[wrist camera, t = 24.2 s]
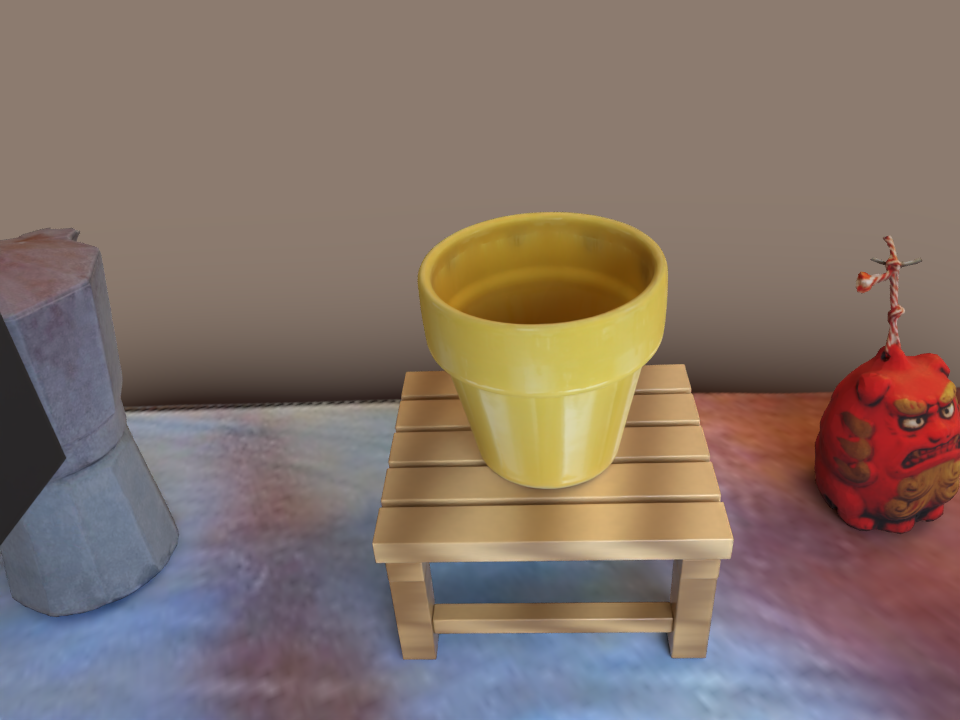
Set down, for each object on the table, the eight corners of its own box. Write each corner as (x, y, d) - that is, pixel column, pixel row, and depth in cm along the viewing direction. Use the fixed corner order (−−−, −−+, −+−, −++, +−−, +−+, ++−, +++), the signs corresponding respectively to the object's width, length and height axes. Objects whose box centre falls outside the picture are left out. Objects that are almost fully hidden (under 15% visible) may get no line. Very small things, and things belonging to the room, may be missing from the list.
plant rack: (674, 475, 49) (684, 363, 44) (715, 660, 39) (734, 539, 34) (420, 480, 50) (405, 371, 46) (394, 661, 40) (371, 544, 35)
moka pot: (226, 467, 52) (131, 160, 41) (124, 687, 39) (-55, 330, 28) (80, 468, 53) (-53, 167, 42) (-66, 683, 40) (-313, 334, 29)
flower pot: (413, 407, 43) (390, 234, 37) (598, 361, 45) (602, 192, 40) (477, 549, 35) (459, 353, 29) (698, 483, 37) (720, 291, 31)
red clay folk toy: (872, 561, 43) (947, 311, 34) (775, 480, 48) (819, 246, 40) (976, 509, 45) (1069, 264, 37) (873, 437, 51) (933, 208, 42)
